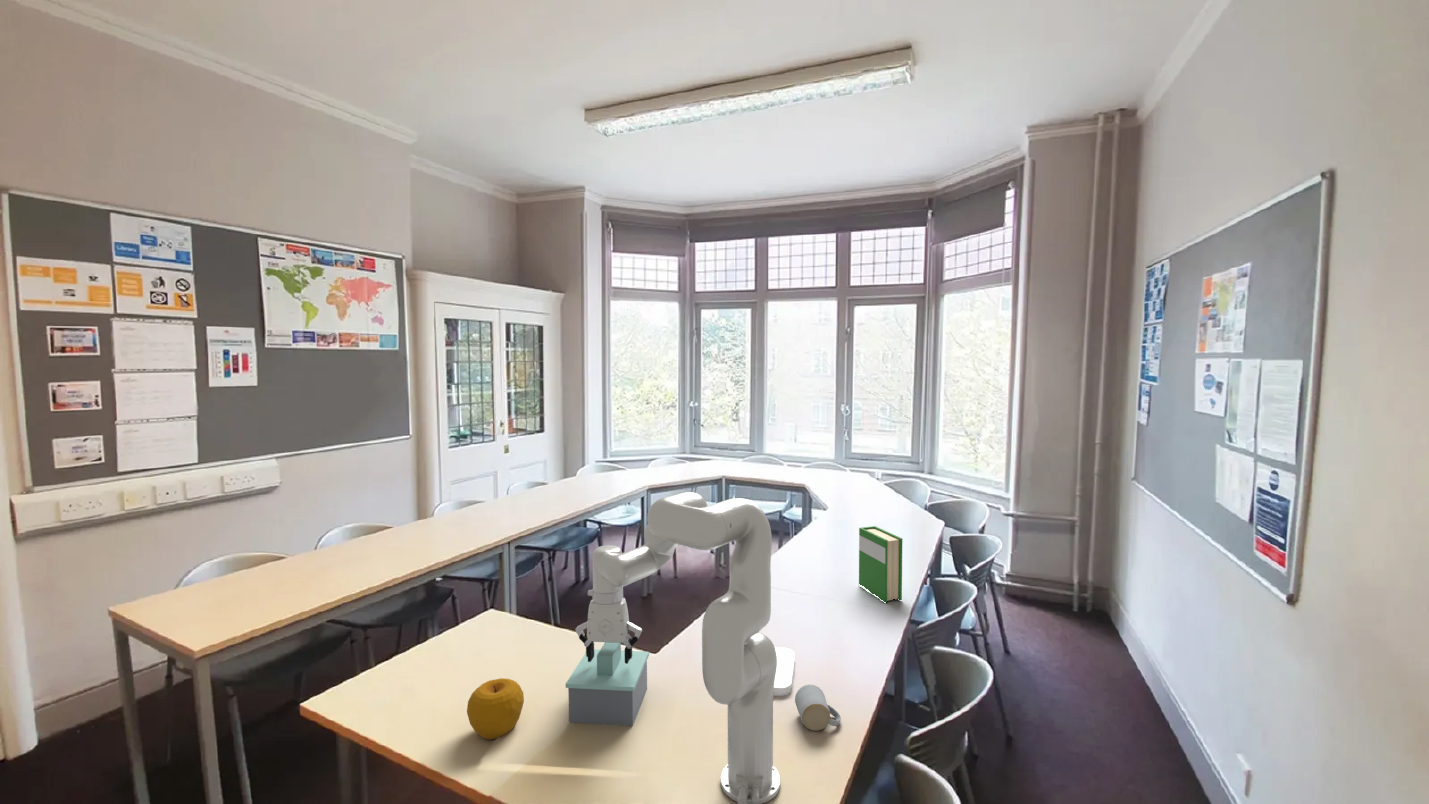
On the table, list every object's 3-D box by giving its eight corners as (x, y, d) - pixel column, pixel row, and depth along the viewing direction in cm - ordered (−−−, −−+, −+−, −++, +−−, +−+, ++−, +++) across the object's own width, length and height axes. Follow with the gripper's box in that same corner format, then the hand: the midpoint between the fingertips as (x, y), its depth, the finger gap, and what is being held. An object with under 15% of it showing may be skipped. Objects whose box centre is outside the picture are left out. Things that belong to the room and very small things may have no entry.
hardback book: (901, 601, 209) (902, 538, 208) (884, 603, 207) (885, 540, 206) (874, 584, 226) (875, 526, 225) (858, 586, 224) (859, 527, 223)
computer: (790, 698, 148) (790, 689, 148) (709, 689, 152) (709, 680, 152) (795, 657, 169) (795, 648, 169) (724, 650, 174) (724, 642, 174)
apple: (457, 735, 133) (455, 689, 133) (503, 708, 144) (502, 665, 143) (489, 755, 126) (488, 707, 125) (536, 725, 137) (535, 680, 136)
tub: (633, 729, 135) (632, 689, 134) (569, 726, 136) (568, 686, 136) (647, 692, 151) (646, 656, 150) (590, 689, 152) (589, 653, 152)
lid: (634, 697, 134) (633, 667, 133) (565, 693, 135) (565, 663, 135) (649, 660, 151) (648, 633, 150) (588, 658, 152) (587, 631, 152)
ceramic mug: (801, 734, 133) (802, 703, 132) (794, 713, 141) (794, 684, 141) (845, 732, 134) (845, 701, 133) (835, 711, 142) (835, 682, 141)
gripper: (570, 600, 139) (571, 666, 140) (637, 602, 137) (638, 669, 138) (580, 588, 147) (581, 651, 147) (644, 590, 145) (645, 654, 146)
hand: (609, 660), depth 143 cm, fingers open, 9 cm apart
